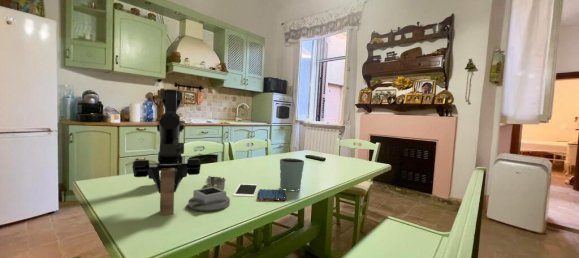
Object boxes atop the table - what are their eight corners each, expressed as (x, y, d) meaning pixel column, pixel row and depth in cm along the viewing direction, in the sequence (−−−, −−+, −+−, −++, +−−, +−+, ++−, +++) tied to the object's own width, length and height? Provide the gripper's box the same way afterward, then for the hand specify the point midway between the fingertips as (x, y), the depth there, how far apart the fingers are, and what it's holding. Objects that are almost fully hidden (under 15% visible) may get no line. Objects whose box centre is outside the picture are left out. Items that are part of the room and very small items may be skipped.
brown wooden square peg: (160, 210, 77) (161, 168, 77) (173, 209, 79) (174, 167, 78) (159, 215, 74) (160, 171, 73) (173, 214, 76) (174, 170, 75)
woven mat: (257, 193, 101) (258, 188, 101) (284, 194, 102) (284, 189, 101) (256, 202, 90) (256, 196, 90) (286, 203, 91) (286, 197, 91)
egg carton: (224, 191, 100) (224, 181, 100) (204, 191, 99) (204, 181, 99) (226, 183, 111) (226, 174, 111) (208, 183, 109) (208, 174, 109)
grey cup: (273, 188, 107) (275, 159, 106) (287, 183, 115) (289, 157, 115) (293, 193, 101) (295, 163, 101) (307, 188, 110) (308, 160, 109)
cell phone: (232, 197, 94) (232, 195, 94) (240, 185, 111) (240, 183, 110) (253, 197, 95) (254, 196, 95) (258, 185, 111) (258, 184, 111)
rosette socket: (181, 203, 84) (181, 189, 84) (216, 195, 94) (217, 183, 94) (200, 215, 75) (200, 200, 75) (237, 205, 85) (237, 192, 85)
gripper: (134, 132, 75) (126, 179, 65) (201, 134, 82) (203, 176, 73) (137, 155, 83) (131, 199, 73) (198, 154, 90) (200, 194, 81)
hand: (167, 192), depth 75 cm, fingers closed on brown wooden square peg, 4 cm apart
